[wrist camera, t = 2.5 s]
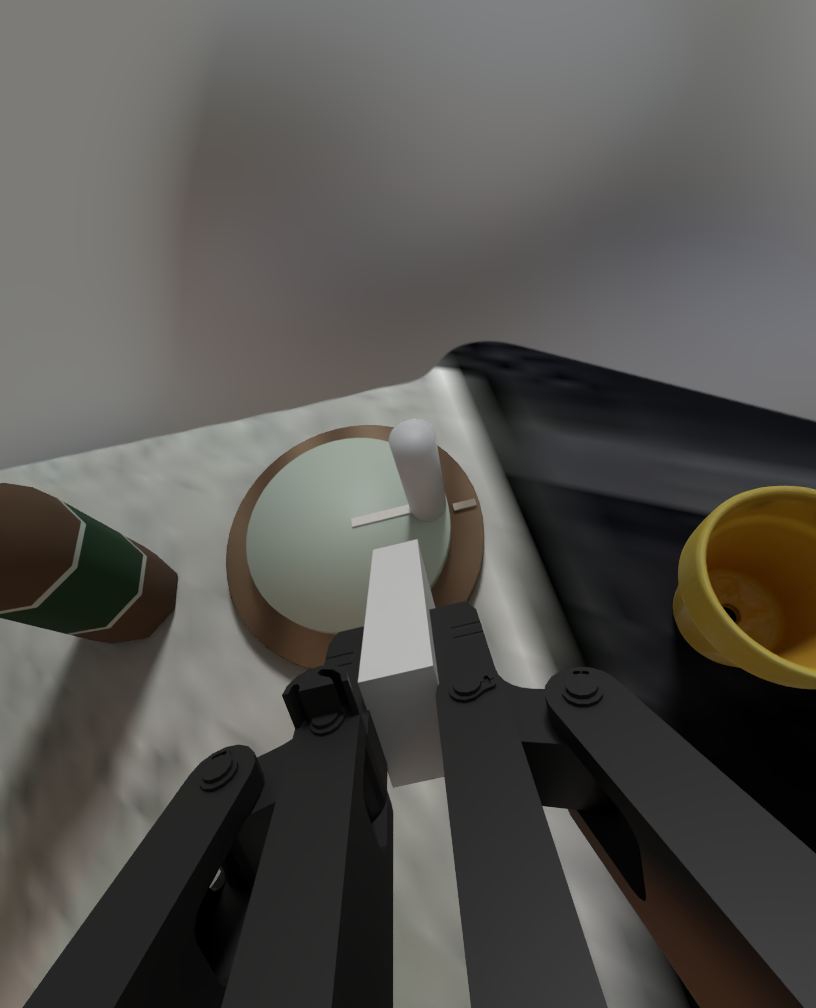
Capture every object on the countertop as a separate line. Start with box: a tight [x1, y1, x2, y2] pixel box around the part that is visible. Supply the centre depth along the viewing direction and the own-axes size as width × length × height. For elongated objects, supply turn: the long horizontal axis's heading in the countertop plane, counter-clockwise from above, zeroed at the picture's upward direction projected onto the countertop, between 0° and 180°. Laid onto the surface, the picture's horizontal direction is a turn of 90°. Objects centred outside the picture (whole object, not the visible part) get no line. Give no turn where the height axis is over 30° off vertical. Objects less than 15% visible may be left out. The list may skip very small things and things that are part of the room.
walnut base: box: [226, 425, 484, 669], centre depth 38 cm, size 21×21×2 cm
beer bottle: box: [0, 483, 178, 643], centre depth 28 cm, size 8×8×24 cm
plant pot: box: [673, 486, 816, 689], centre depth 28 cm, size 10×10×10 cm
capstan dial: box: [246, 419, 451, 635], centre depth 33 cm, size 16×16×11 cm
